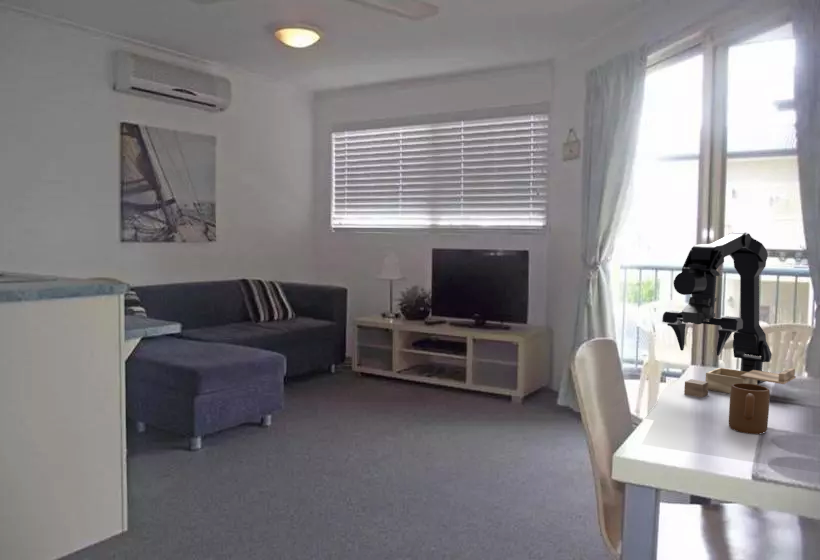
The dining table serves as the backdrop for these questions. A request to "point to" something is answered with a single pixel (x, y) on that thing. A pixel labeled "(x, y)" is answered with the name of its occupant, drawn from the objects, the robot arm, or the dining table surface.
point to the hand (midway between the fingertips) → (699, 352)
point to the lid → (771, 376)
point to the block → (696, 388)
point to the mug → (749, 408)
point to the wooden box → (726, 379)
